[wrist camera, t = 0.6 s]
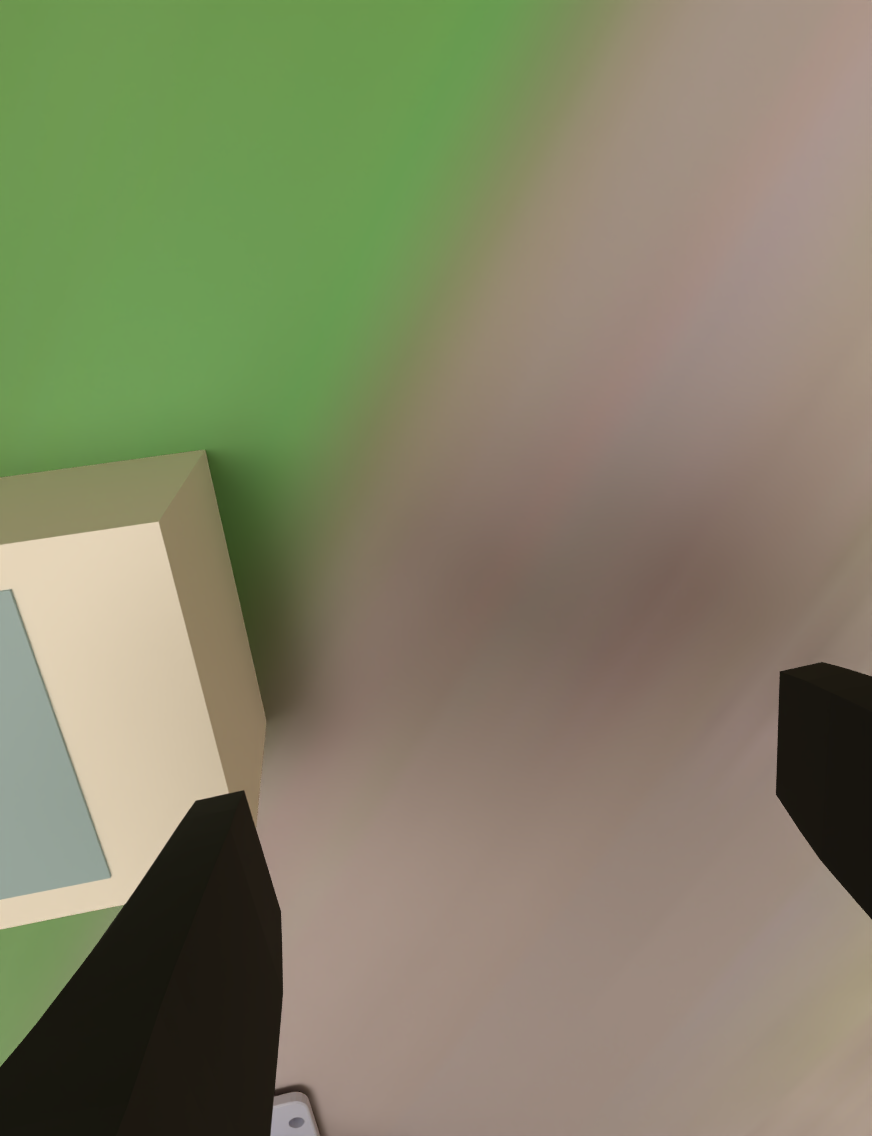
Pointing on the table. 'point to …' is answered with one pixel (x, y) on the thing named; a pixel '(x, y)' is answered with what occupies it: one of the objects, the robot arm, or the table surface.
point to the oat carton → (115, 677)
